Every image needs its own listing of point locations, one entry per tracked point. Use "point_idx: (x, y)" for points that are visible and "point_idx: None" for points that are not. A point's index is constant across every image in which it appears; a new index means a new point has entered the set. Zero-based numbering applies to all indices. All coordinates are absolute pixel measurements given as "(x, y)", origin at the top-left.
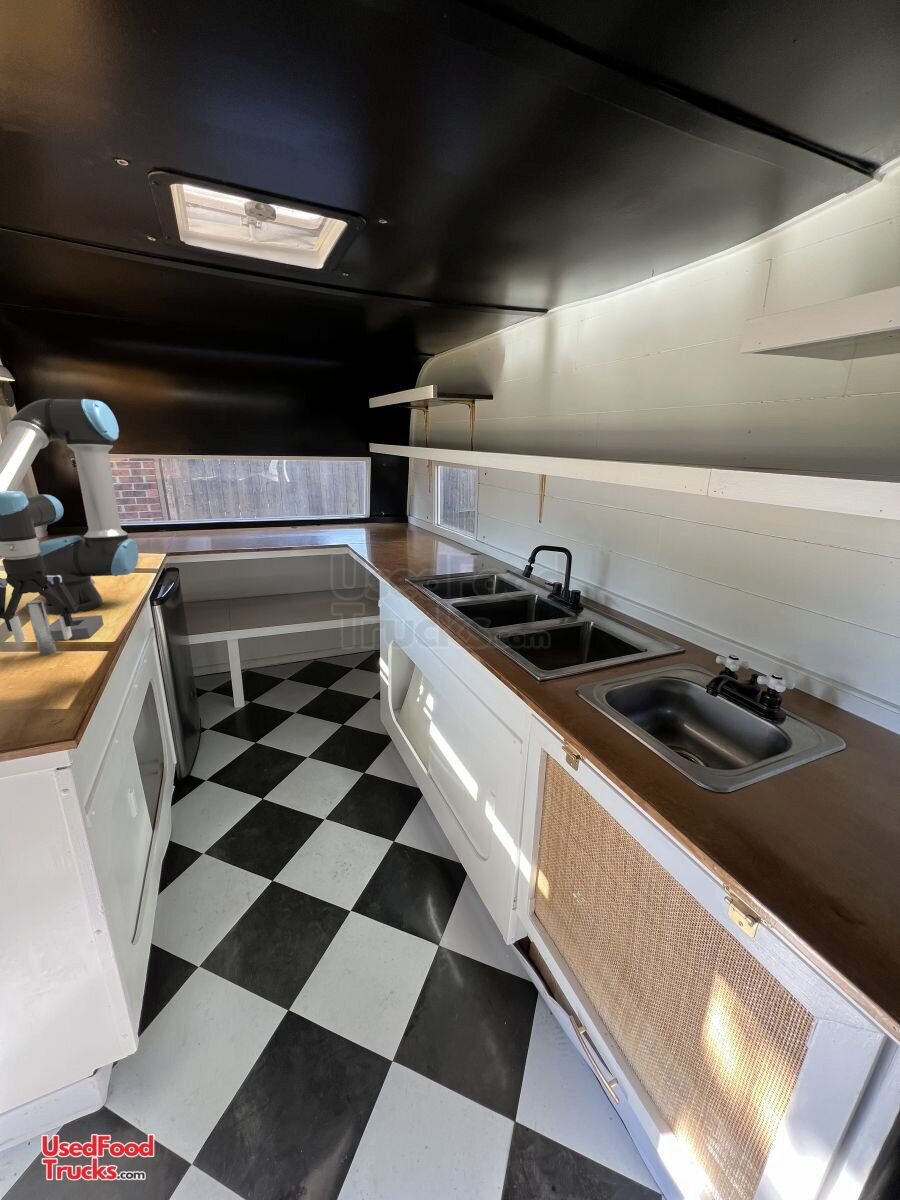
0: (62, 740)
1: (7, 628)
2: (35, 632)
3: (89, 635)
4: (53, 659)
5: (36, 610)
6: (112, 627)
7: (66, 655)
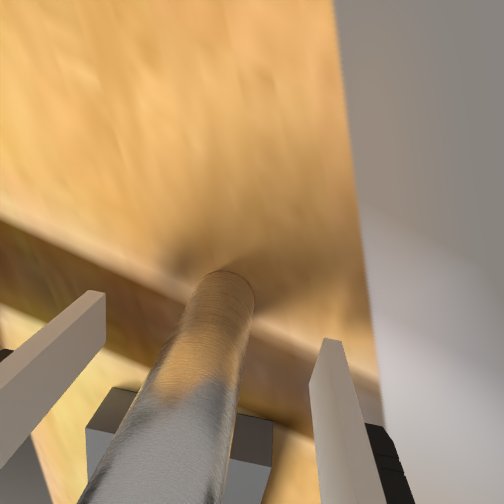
0: None
1: (396, 451)
2: (221, 361)
3: (106, 398)
4: (179, 201)
5: None
6: (70, 451)
7: (137, 229)
